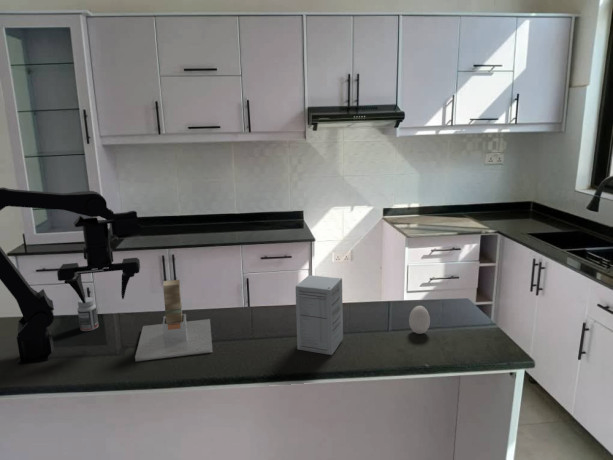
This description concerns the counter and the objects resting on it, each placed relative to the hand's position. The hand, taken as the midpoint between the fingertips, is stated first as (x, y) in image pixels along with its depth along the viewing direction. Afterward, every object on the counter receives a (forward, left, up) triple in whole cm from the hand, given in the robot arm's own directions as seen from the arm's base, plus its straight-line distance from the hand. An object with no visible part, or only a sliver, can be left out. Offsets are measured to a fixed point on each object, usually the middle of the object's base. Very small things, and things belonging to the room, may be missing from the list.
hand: (104, 300), depth 119 cm
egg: (+79, -22, -11) cm, 83 cm away
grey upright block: (+52, -20, -11) cm, 57 cm away
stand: (+17, -6, -11) cm, 21 cm away
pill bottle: (-6, +10, -11) cm, 16 cm away
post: (+17, -6, -6) cm, 19 cm away
